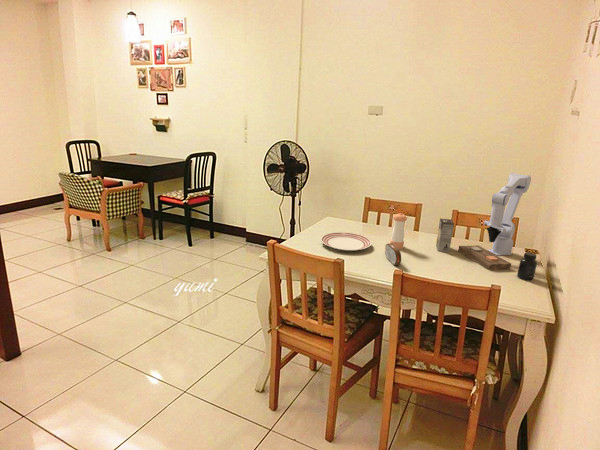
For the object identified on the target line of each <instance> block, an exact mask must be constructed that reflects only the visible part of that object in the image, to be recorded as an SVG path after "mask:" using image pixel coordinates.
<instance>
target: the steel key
mask: <svg viewBox="0 0 600 450" xmlns="http://www.w3.org/2000/svg"><path fill="white" fill-rule="evenodd" d="M471 250H473V251H475V252H481V251H482V249H480V248H478V247H471Z"/></svg>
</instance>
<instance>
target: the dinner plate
mask: <svg viewBox="0 0 600 450" xmlns="http://www.w3.org/2000/svg"><path fill="white" fill-rule="evenodd" d="M320 241H321V243H323V244H324V245H325V246H327V247H329V248H331V249H335V250H339V251H343V252H355V251H356V252H357V251H362V250H365V249H368V248H369V247H370V246H371V245H372V240H371V239H369V238H368V237H367V236H364V235H362V234H358V233H353V232H346V231H345V232H343V231H339V232H338V231H337V232H334V231H333V232H329V233H326V234H324V235H323V236H321V237H320Z"/></svg>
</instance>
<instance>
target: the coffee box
mask: <svg viewBox="0 0 600 450" xmlns="http://www.w3.org/2000/svg"><path fill="white" fill-rule="evenodd" d="M454 227H455V223H454V221H453V219H450V218H439V225H438V229H437V230H438V231H437V237H436V242H435V243H436V244H435V246H436V250H437V251H439V252H444V253H445V252H446V253H450V250H451V244H452V238H453V233H454Z"/></svg>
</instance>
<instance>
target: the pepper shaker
mask: <svg viewBox="0 0 600 450" xmlns="http://www.w3.org/2000/svg"><path fill="white" fill-rule="evenodd" d="M407 219H408V217H407V215H406V214H403V212H399V213H396V214H395V215H393V221H394V222H393V229H392V232H391V238H390V241H389V243H393V244H394V245H395V246H396V247H397V248H398V249H399V250H401V249H403V248H404V245H405V241H404V238H405V223H406V222H407Z"/></svg>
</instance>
